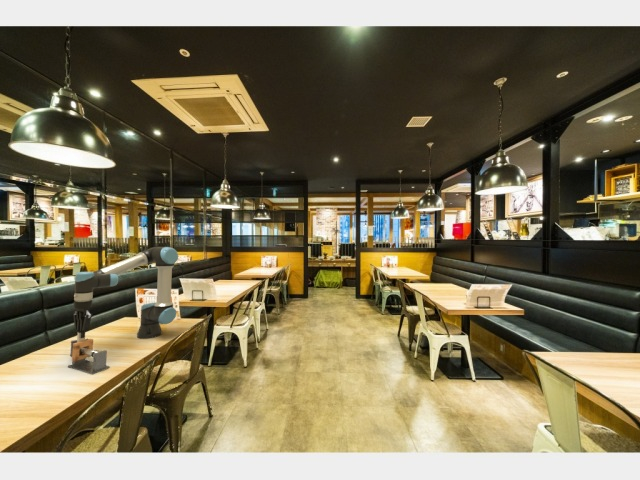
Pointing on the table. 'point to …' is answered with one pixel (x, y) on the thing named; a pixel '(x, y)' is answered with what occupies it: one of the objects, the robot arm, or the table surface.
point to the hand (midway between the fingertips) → (80, 343)
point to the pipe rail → (90, 366)
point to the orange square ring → (81, 344)
